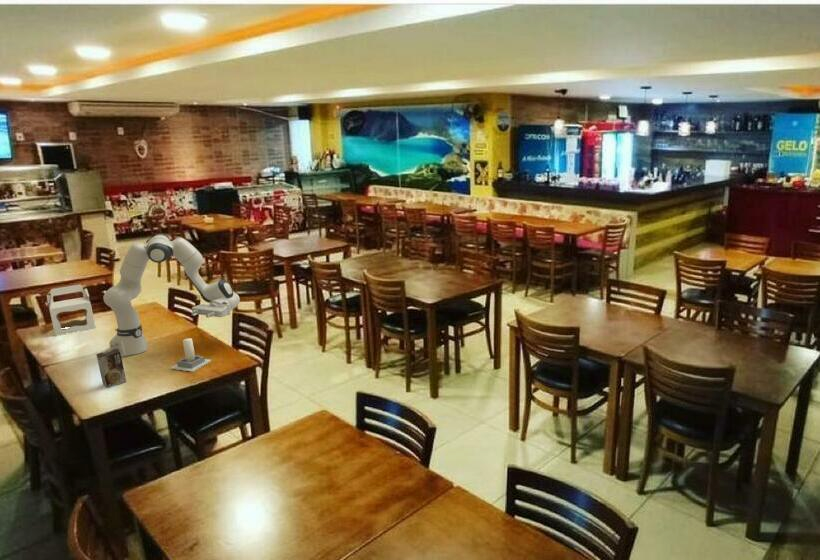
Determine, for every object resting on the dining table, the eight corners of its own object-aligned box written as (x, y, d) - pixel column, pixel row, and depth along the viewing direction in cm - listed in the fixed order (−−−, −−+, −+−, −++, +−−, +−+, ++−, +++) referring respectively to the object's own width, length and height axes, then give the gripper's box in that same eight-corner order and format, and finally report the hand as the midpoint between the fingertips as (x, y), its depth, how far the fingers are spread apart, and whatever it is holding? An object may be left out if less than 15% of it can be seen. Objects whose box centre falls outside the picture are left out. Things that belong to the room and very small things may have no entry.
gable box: (94, 322, 360) (85, 281, 352) (96, 328, 349) (87, 285, 342) (54, 330, 348) (44, 287, 341) (54, 336, 338) (44, 292, 330)
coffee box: (122, 378, 275) (116, 347, 270) (126, 382, 270) (120, 351, 266) (102, 384, 268) (95, 353, 264) (106, 388, 264) (100, 357, 260)
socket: (171, 369, 283) (169, 363, 282) (190, 358, 295) (189, 352, 294) (192, 372, 278) (191, 366, 277) (211, 361, 290) (211, 355, 289)
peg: (184, 364, 285) (180, 341, 281) (190, 361, 289) (187, 337, 286) (191, 365, 283) (187, 341, 280) (198, 362, 287) (194, 338, 284)
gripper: (201, 300, 312) (183, 307, 300) (231, 303, 305) (214, 311, 292) (203, 311, 314) (185, 318, 301) (232, 314, 306) (215, 322, 294)
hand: (199, 315), depth 297 cm, fingers open, 8 cm apart
